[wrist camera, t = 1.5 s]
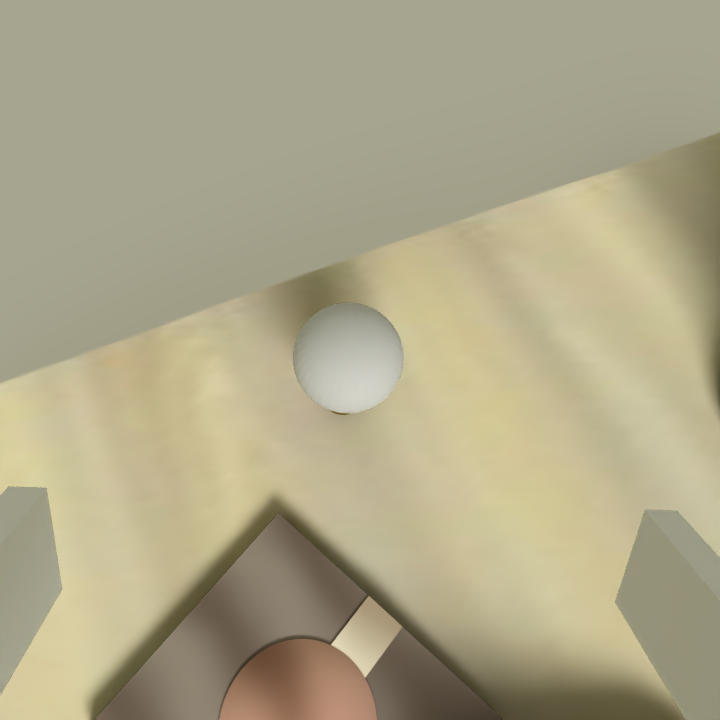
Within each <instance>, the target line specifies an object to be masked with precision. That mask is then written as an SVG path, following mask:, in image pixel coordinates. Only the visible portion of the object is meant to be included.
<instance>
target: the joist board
mask: <svg viewBox="0 0 720 720" xmlns="http://www.w3.org/2000/svg"><path fill="white" fill-rule="evenodd" d="M95 720H503V718H502V717H501V716H499V715H498V714H497V713H496V712H495V711H494V710H493V709H492V708H491V707H490V706H488V705H487V704H486V703H485V702H484V701H483V700H482V699H481V698H480V697H479V696H478V695H476V694H475V693H474V692H473V691H472V690H471V689H470V688H469V687H468V686H467V685H466V684H464V683H463V682H462V681H461V680H460V679H459V678H458V677H457V676H456V675H455V674H454V673H452V672H451V671H450V670H449V669H448V668H447V667H446V666H445V665H444V664H443V663H442V662H440V661H439V660H438V659H437V658H436V657H435V656H434V655H433V654H432V653H431V652H430V651H428V650H427V649H426V648H425V647H424V646H423V645H422V644H421V643H420V642H419V641H417V640H416V639H415V638H414V637H413V636H412V635H411V634H410V633H409V632H408V631H407V630H405V629H404V628H403V627H402V626H401V625H400V624H399V623H398V622H397V621H396V620H395V619H394V618H393V617H391V616H390V615H389V614H388V613H387V612H386V611H385V610H384V609H383V608H382V607H381V606H379V605H378V604H377V603H376V602H375V601H374V600H373V599H372V598H371V597H370V596H368V595H367V594H366V593H365V592H364V591H363V590H362V589H361V588H360V587H359V586H357V585H356V584H355V583H354V582H353V581H352V580H351V579H350V578H349V577H348V576H347V575H345V574H344V573H343V572H342V571H341V570H340V569H339V568H338V567H337V566H336V565H334V564H333V563H332V562H331V561H330V560H329V559H328V558H327V557H326V556H325V555H324V554H322V553H321V552H320V551H319V550H318V549H317V548H316V547H315V546H314V545H313V544H312V543H310V542H309V541H308V540H307V539H306V538H305V537H304V536H303V535H302V534H301V533H300V532H298V531H297V530H296V529H295V528H294V527H293V526H292V525H291V524H290V523H289V522H288V521H286V520H285V519H284V518H283V517H282V516H281V515H280V514H279V513H278V514H277V515H276V517H275V518H274V519H273V520H272V521H271V522H270V523H269V524H268V526H267V527H266V528H265V529H264V530H263V531H262V532H261V533H260V535H259V536H258V537H257V538H256V539H255V540H254V541H253V542H252V544H251V545H250V546H249V547H248V548H247V549H246V550H245V551H244V552H243V554H242V555H241V556H240V557H239V558H238V559H237V560H236V561H235V563H234V564H233V565H232V566H231V567H230V568H229V569H228V570H227V572H226V573H225V574H224V575H223V576H222V577H221V578H220V579H219V581H218V582H217V583H216V584H215V585H214V586H213V587H212V588H211V590H210V591H209V592H208V593H207V594H206V595H205V596H204V597H203V599H202V600H201V601H200V602H199V603H198V604H197V605H196V606H195V608H194V609H193V610H192V611H191V612H190V613H189V614H188V615H187V617H186V618H185V619H184V620H183V621H182V622H181V623H180V624H179V626H178V627H177V628H176V629H175V630H174V631H173V632H172V633H171V635H170V636H169V637H168V638H167V639H166V640H165V641H164V642H163V644H162V645H161V646H160V647H159V648H158V649H157V650H156V651H155V653H154V654H153V655H152V656H151V657H150V658H149V659H148V660H147V662H146V663H145V664H144V665H143V666H142V667H141V668H140V669H139V671H138V672H137V673H136V674H135V675H134V676H133V677H132V678H131V679H130V681H129V682H128V683H127V684H126V685H125V686H124V687H123V688H122V690H121V691H120V692H119V693H118V694H117V695H116V696H115V697H114V699H113V700H112V701H111V702H110V703H109V704H108V705H107V706H106V708H105V709H104V710H103V711H102V712H101V713H100V714H99V715H98V717H97V718H96V719H95Z"/></svg>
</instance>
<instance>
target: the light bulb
mask: <svg viewBox="0 0 720 720" xmlns="http://www.w3.org/2000/svg"><path fill="white" fill-rule="evenodd" d="M403 358H404V357H403V347H402V344H401V340H400V337H399V335H398V333H397V331H396V329H395V328H394V326H393V325H392V324H391V322H390V321H389V320H388V319H387V318H386V317H385V316H383V315H382V314H381V313H380V312H378V311H376V310H375V309H373V308H371V307H368V306H366V305H362V304H358V303H339V304H334V305H331V306H328V307H326V308H324V309H322V310H320V311H318V312H317V313H316V314H314V315H313V316H312V317H311V318H310V319H309V320H308V321H307V322H306V323H305V324H304V326H303V327H302V329H301V330H300V332H299V334H298V336H297V339H296V342H295V345H294V352H293V365H294V370H295V374H296V377H297V380H298V382H299V384H300V386H301V387H302V389H303V390H304V392H305V393H306V394H307V395H308V396H309V397H310V398H311V399H312V400H313V401H314V402H315V403H317V404H319V405H320V406H322V407H324V408H326V409H328V410H330V411H332V412H333V413H336V414H340V415H346V414H350V413H357V412H362V411H365V410H368V409H371V408H373V407H375V406H376V405H378V404H380V403H381V402H382V401H383V400H385V399H386V398H387V397H388V396H389V395H390V394H391V392H392V391H393V390H394V388H395V386H396V385H397V383H398V381H399V378H400V376H401V372H402V368H403Z"/></svg>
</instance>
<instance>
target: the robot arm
mask: <svg viewBox="0 0 720 720" xmlns="http://www.w3.org/2000/svg"><path fill="white" fill-rule="evenodd" d="M61 590H62V584H61V578H60V571H59V565H58V558H57V552H56V545H55V539H54V533H53V526H52V520H51V513H50V507H49V500H48V494H47V488H37V487H8V488H7V489H6V490H5V491H4V492H3V493H2V494H1V495H0V695H1V693H2V692H3V690H4V688H5V687H6V685H7V683H8V681H9V680H10V678H11V676H12V675H13V673H14V671H15V669H16V668H17V666H18V664H19V662H20V661H21V659H22V657H23V656H24V654H25V652H26V650H27V649H28V647H29V645H30V644H31V642H32V640H33V638H34V637H35V635H36V633H37V632H38V630H39V628H40V626H41V625H42V623H43V621H44V620H45V618H46V616H47V614H48V613H49V611H50V609H51V607H52V606H53V604H54V602H55V601H56V599H57V597H58V595H59V594H60V592H61ZM615 603H616V605H617V606H618V608H619V610H620V611H621V613H622V615H623V616H624V618H625V620H626V621H627V623H628V625H629V626H630V628H631V630H632V631H633V633H634V635H635V636H636V638H637V640H638V641H639V643H640V645H641V646H642V648H643V650H644V651H645V653H646V655H647V656H648V658H649V660H650V661H651V663H652V665H653V666H654V668H655V670H656V671H657V673H658V675H659V676H660V678H661V680H662V681H663V683H664V685H665V686H666V688H667V690H668V691H669V693H670V695H671V696H672V698H673V700H674V701H675V703H676V705H677V706H678V708H679V710H680V711H681V713H682V715H683V716H684V718H685V720H720V557H719V556H718V555H717V554H716V553H715V552H714V551H713V550H712V549H711V548H710V546H709V545H708V544H707V543H706V542H705V541H704V540H703V539H702V538H701V536H700V535H699V534H698V533H697V532H696V531H695V530H694V529H693V528H692V527H691V525H690V524H689V523H688V522H687V521H686V520H685V519H684V518H683V517H682V515H681V514H680V513H679V512H678V511H670V510H645V511H644V514H643V518H642V521H641V524H640V527H639V530H638V533H637V536H636V539H635V542H634V545H633V548H632V551H631V554H630V558H629V561H628V564H627V567H626V570H625V573H624V576H623V579H622V582H621V585H620V588H619V591H618V594H617V597H616V601H615Z"/></svg>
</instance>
